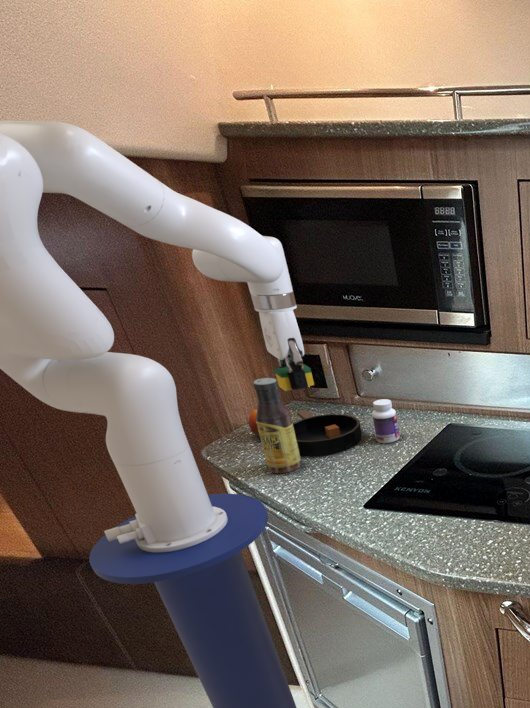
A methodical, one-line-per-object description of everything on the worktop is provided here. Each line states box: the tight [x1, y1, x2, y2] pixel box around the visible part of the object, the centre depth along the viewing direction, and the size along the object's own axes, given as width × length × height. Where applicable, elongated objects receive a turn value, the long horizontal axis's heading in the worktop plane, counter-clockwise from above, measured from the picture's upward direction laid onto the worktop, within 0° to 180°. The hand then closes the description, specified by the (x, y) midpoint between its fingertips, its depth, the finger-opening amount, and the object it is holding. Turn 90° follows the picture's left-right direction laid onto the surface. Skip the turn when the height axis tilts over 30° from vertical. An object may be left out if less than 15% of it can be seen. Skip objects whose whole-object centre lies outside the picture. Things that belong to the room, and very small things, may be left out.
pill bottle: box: [371, 398, 401, 444], centre depth 120 cm, size 5×5×10 cm
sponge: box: [273, 363, 315, 392], centre depth 110 cm, size 6×4×4 cm, turn 136°
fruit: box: [248, 409, 260, 438], centre depth 120 cm, size 8×8×8 cm
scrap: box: [325, 424, 341, 438], centre depth 120 cm, size 2×2×2 cm
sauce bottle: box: [252, 377, 302, 474], centre depth 103 cm, size 6×6×20 cm
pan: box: [293, 409, 363, 458], centre depth 121 cm, size 16×22×4 cm
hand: (296, 384), depth 111 cm, fingers closed on sponge, 4 cm apart
